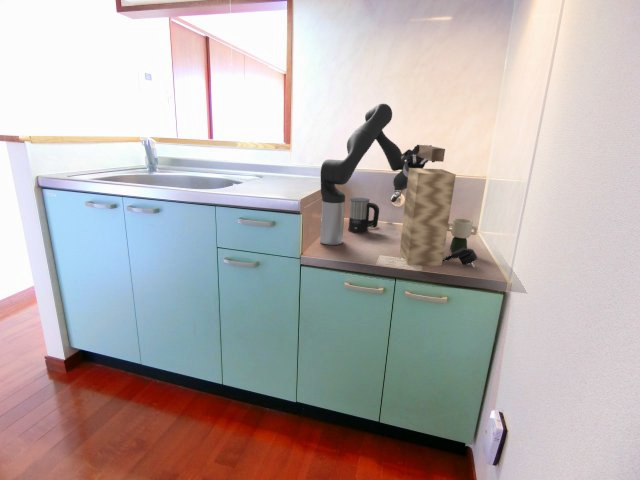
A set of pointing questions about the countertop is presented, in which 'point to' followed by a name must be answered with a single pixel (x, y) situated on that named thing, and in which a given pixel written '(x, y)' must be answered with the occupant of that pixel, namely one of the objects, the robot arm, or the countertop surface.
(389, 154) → the robot arm
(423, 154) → the rod
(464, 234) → the character mug
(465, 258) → the power plug
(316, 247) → the countertop surface
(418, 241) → the stand
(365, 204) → the milk frother
